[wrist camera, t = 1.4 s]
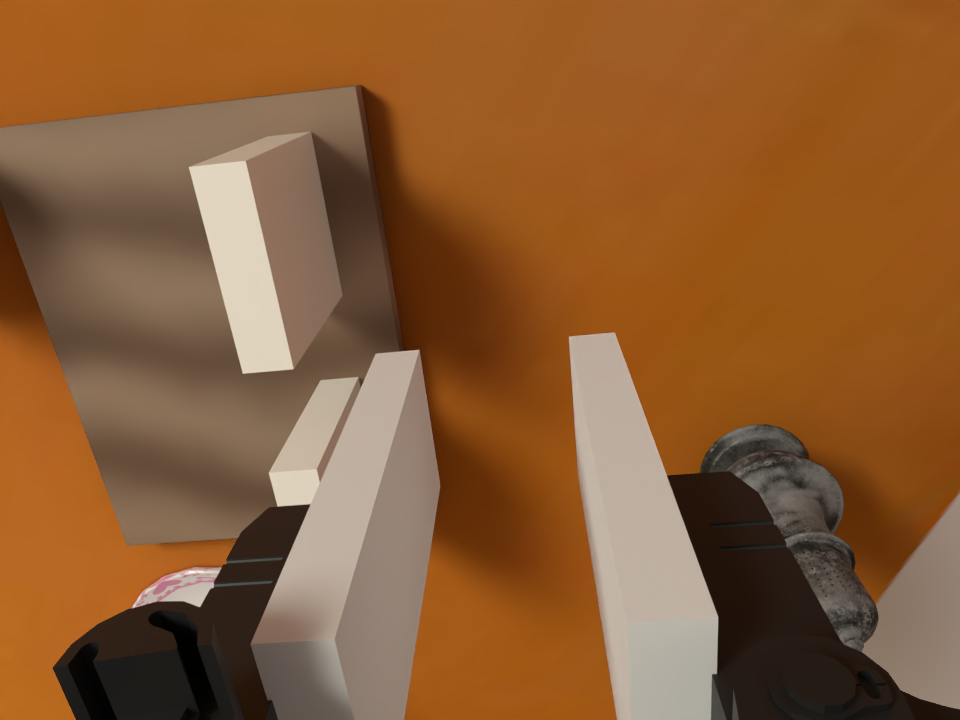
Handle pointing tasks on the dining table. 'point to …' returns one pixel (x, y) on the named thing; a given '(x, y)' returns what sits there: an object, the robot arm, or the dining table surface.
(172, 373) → the walnut board
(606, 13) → the dining table surface
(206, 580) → the teacup
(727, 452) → the grey stone finial
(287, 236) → the tile
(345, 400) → the tile
